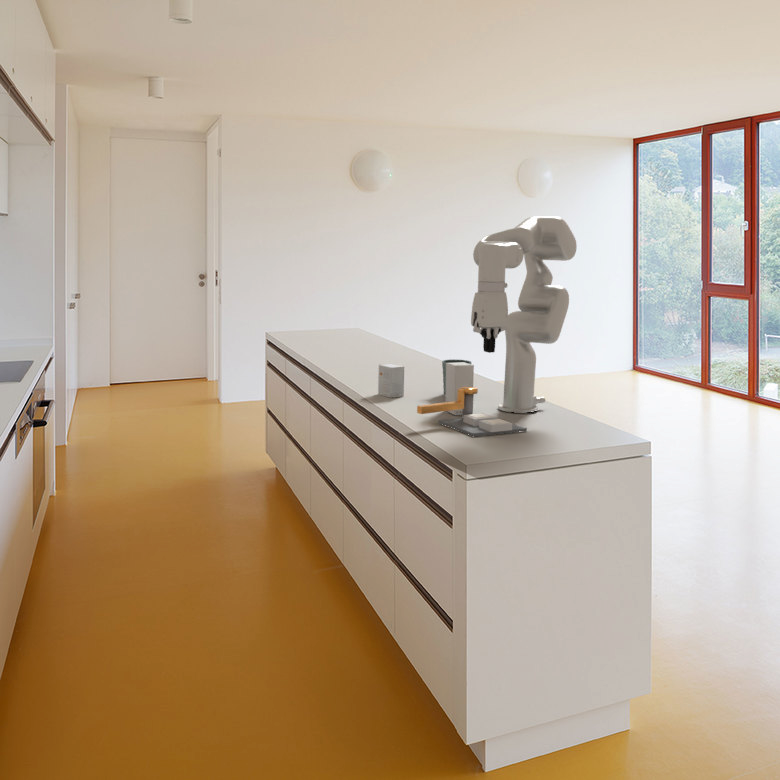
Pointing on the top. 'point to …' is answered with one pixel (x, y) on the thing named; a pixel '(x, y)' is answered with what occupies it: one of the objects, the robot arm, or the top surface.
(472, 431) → the sled board
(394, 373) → the small box
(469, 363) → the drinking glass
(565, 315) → the robot arm
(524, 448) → the top surface
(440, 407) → the orange crank handle
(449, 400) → the skincare box
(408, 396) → the top surface
